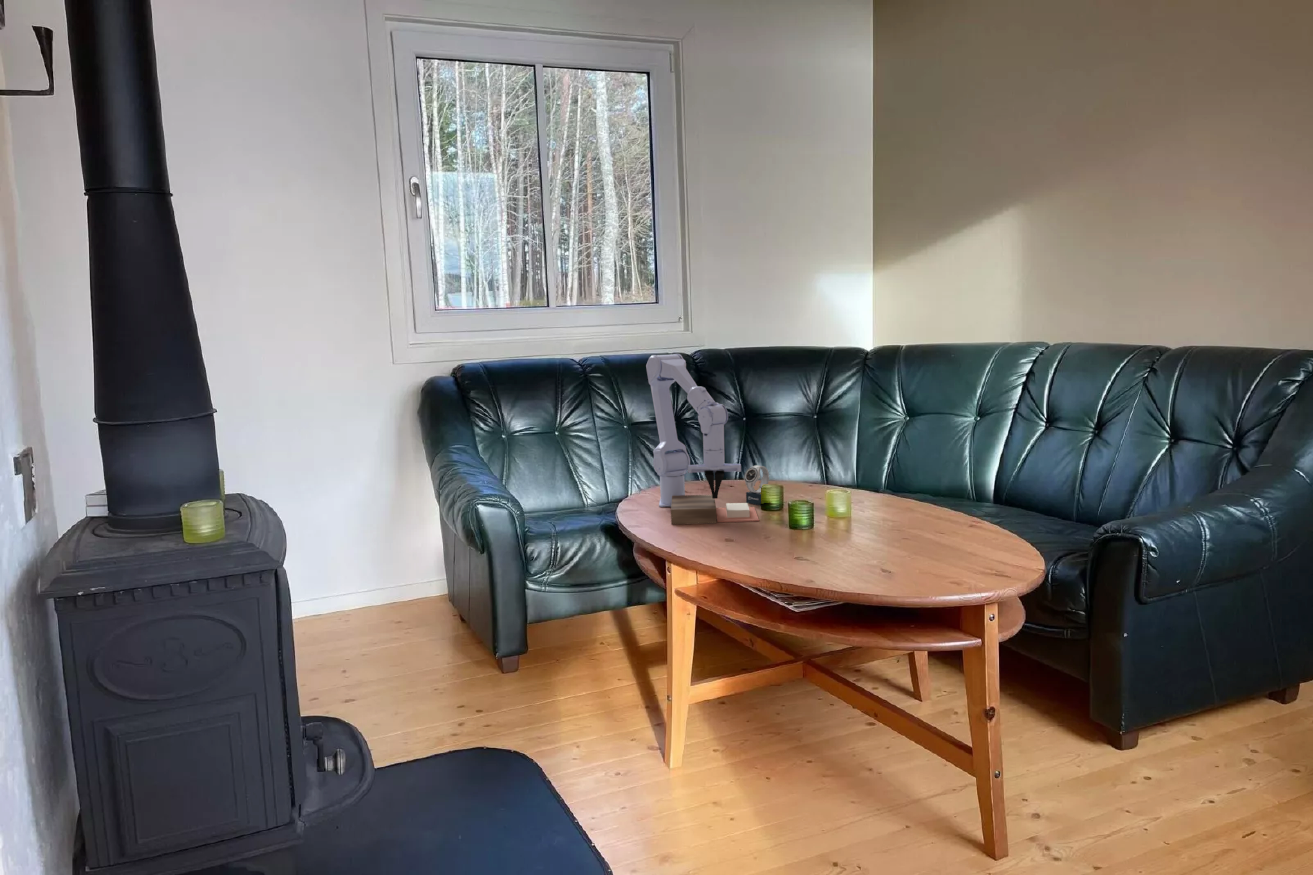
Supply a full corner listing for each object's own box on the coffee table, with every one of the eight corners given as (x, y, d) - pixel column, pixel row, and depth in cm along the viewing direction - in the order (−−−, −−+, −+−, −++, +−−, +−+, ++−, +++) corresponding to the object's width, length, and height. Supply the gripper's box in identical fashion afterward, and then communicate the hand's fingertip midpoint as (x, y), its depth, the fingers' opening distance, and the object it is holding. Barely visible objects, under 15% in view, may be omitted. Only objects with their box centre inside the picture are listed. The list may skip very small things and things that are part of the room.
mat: (715, 509, 241) (715, 507, 240) (754, 508, 240) (754, 506, 240) (717, 522, 225) (717, 520, 225) (758, 521, 224) (758, 519, 224)
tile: (747, 502, 236) (747, 509, 236) (725, 503, 237) (726, 510, 237) (749, 509, 227) (749, 517, 228) (727, 510, 228) (727, 517, 228)
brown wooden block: (672, 509, 242) (672, 495, 241) (714, 508, 242) (714, 494, 241) (671, 524, 224) (670, 509, 224) (716, 523, 224) (716, 508, 223)
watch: (741, 503, 246) (740, 466, 245) (760, 499, 252) (759, 463, 250) (756, 506, 242) (755, 468, 241) (774, 501, 247) (773, 465, 246)
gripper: (687, 452, 226) (688, 501, 228) (741, 450, 226) (742, 500, 228) (687, 448, 233) (688, 496, 235) (739, 446, 233) (740, 494, 235)
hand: (714, 497), depth 232 cm, fingers closed
